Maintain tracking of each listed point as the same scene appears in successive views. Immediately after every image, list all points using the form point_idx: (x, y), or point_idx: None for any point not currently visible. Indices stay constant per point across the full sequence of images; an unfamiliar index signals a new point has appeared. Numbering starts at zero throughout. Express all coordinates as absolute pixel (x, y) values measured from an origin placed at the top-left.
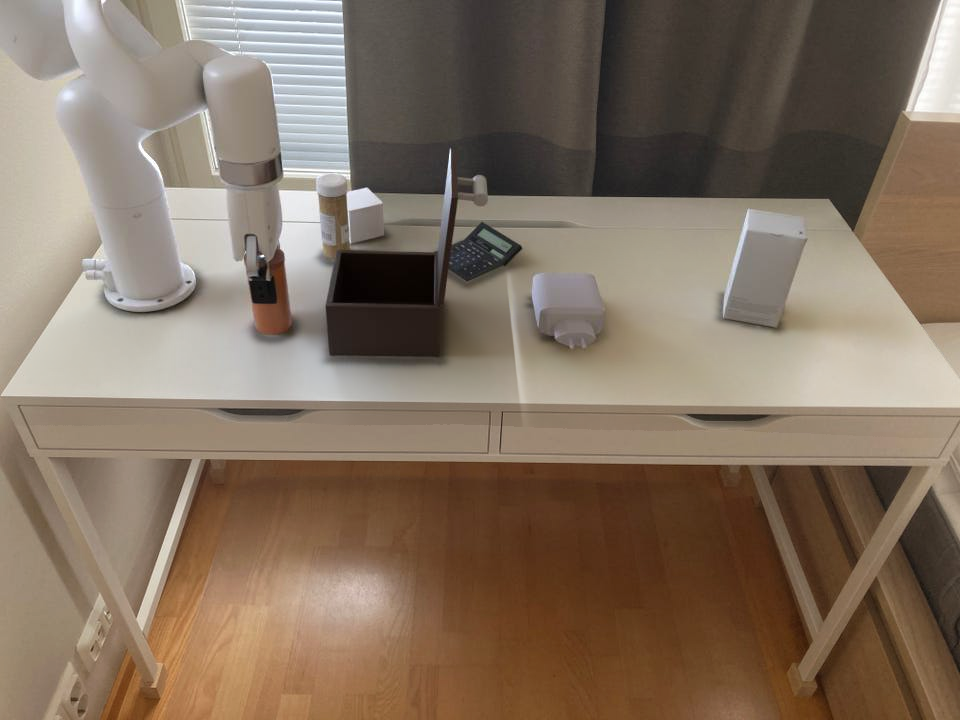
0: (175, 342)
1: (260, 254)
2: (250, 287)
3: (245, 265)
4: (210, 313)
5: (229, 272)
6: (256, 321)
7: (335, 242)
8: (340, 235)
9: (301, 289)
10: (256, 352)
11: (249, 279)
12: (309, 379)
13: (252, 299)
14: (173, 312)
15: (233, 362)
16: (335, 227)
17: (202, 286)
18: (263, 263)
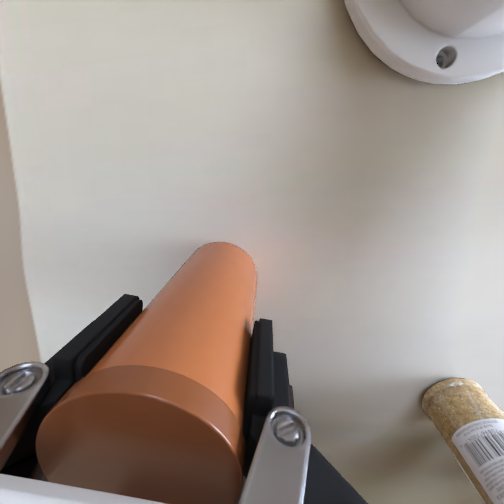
0: (186, 50)
1: (153, 461)
2: (87, 328)
3: (98, 373)
4: (298, 137)
5: (477, 179)
6: (190, 259)
7: (457, 447)
8: (468, 475)
9: (348, 329)
10: (146, 241)
11: (5, 374)
12: (75, 323)
13: (119, 300)
14: (322, 26)
15: (114, 197)
16: (491, 500)
17: (432, 106)
18: (68, 465)
